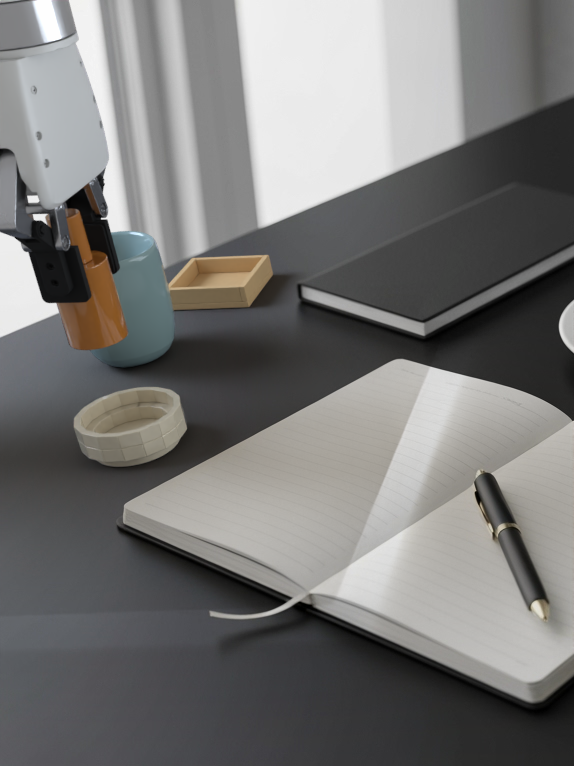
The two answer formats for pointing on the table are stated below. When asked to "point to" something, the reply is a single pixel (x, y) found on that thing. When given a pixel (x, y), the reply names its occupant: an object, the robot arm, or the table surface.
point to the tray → (220, 282)
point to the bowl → (131, 426)
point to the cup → (140, 302)
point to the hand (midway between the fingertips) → (82, 284)
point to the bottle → (92, 297)
